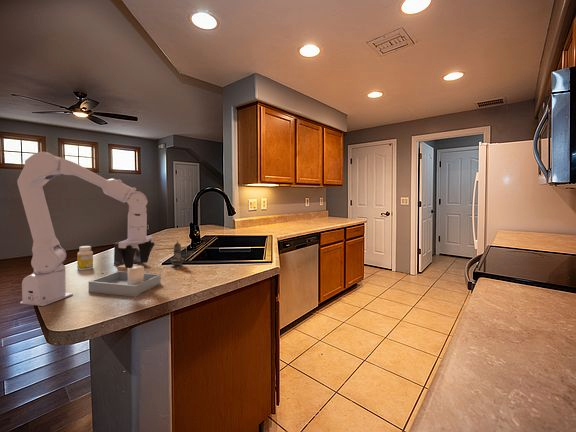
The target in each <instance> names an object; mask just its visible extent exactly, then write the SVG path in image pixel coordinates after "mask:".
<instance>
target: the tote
mask: <svg viewBox="0 0 576 432" xmlns="http://www.w3.org/2000/svg"><path fill="white" fill-rule="evenodd" d="M161 278H162V277H161V274H157V273H156V274H155V273H146V272H144V282H142V283H140V284H137V285H128V272H124V271H118V272H117V271H115V272H112V273H109V274H107V275H104V276H101V277H98V278H95V279H92V280H90V281H88V292H89V293H96V294H105V295H106V294H107V295H117V296H123V297H124V296H127V297H136V298H137V297H138V296H140V295H142V294H144V293H146V292H148V291H149V290H151V289H153V288H155V287H157V286H160V285H161Z"/></svg>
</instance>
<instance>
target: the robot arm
mask: <svg viewBox="0 0 576 432" xmlns="http://www.w3.org/2000/svg"><path fill="white" fill-rule="evenodd" d="M60 175H65V176H75V177H78V178H79V179H82V180H84V181H86V182H88V183H91V184H93V185H95V186H98V187H99V188H101V189H102V192H103V194H104V195H107V196H109V197H111V198H113V199H115V200H117V201H119V202H120V203H123V204H125V203H127V205H128V213H127V238H126V239H124V240H121V241H118V242H119V247H118V251H119V253H120V254H121V256H122V258H123V261H124V264H125V267H126V268H132V267H133V260H134V255H135V252H136V250H137V248H132V247H131V246H133V245H138V247H139V250H140V260H141V262H142V263H141V264H147V263H148V262H149V257H150V254H151V252H152V250H153V248H154V246H155V242H154V236H153V235H152V236H151V235H147V233H148V232H147V228H148V227H147V225H148V224H147V222H148V221H147V220H148V219H147V218H148V214H147V205H148V202H149V201H148V198H147V196H146V195H145V193H143V192H142V191H137V188H136V187H131V186H130V185H127V184H126V183H124V182H123V180H121V179H119V178H118V179H116V178H109V179H106V178H104V177H102V176H101V175H99V174H97V173H96V172H93V171H92V170H89V169H88V168H86V167H84V166H82V165H80V164H78V163H76V162H74V161H71V160H69V159H65V158H63V157H60V156H57V155H54V154H52V153H50V152H46V151H37V152H35V153H33V154H31V155H30V156H29V157H28V158H26V159H25V160H24V166H23V168H22V170H21V172H20V175H19V177H18V178H17V180H16V182H17V186H18V187H17V188H18V191H19V194H20V197H21V201H22V205H23V208H24V212H25V216H26V220H27V223H28V227H29V229H30V234H31V237H32V241H33V242H32V248H31V253H32V258H31V261H30V265H31V267H32V269H33V272H32V273H31V274H30V275H27V276H25V277H24V278H23V279H22V282H21V295H22V296H21V298H22V300H21V301H20V302H19V304H21V305H30V306H39V307H44V306H47V305H50V304H52V303H54V302H57V301H60V300H63V299H65V298H68V297H71V296H73V295H74V293H73V292H66V291H67V289H66V288H67V287H66V284H67V283H66V266H65V265H64V264H63V263H64V261H66V258H67V252H66V250H65V249H64V248H63V247H62V246H61V243H60V240H59V239H58V238H57V237H56V233H55V230H54V225H53V222H52V219H51V215H50V214H51V213H50V211H49V207H48V204H47V200H46V196H45V191H44V188H43V187H45V185H46V184H47V183H48V182H49V181H50V180H52V179H54V178H56V177H57V176H58V177H59V176H60Z"/></svg>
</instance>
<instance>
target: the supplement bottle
mask: <svg viewBox="0 0 576 432" xmlns="http://www.w3.org/2000/svg"><path fill="white" fill-rule="evenodd" d="M78 249H79V251H78V252H77V254H76V255H77V258H76V259H77V262H76V263H77V267H76V268H77V270H79V271H87V270H92V269H93V268H94V252H93V251H92V246H91V245H81V246H79V248H78Z"/></svg>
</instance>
